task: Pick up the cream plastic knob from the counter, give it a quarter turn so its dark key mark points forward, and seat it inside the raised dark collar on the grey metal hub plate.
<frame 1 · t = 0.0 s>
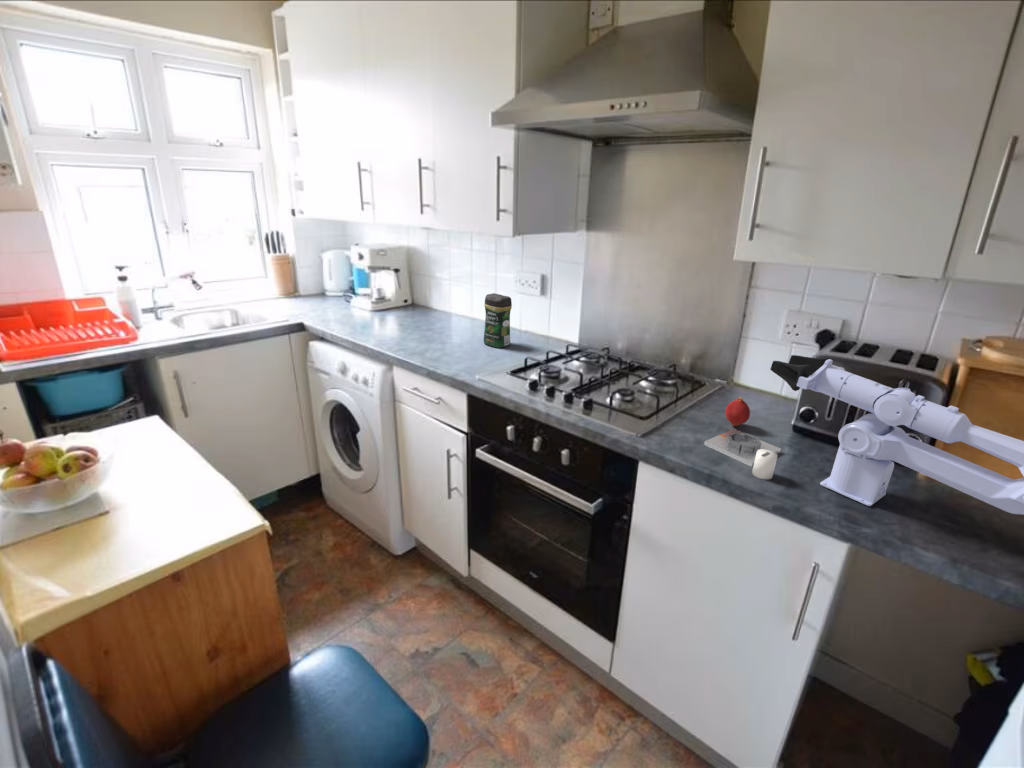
hand: (781, 362, 113), 22 cm above the worktop, tool horizontal, fingers open, 7 cm apart
hub plate: (741, 448, 122), on the worktop
coffee jar: (496, 345, 191), on the worktop
onion: (734, 426, 133), on the worktop
knob: (762, 474, 111), on the worktop
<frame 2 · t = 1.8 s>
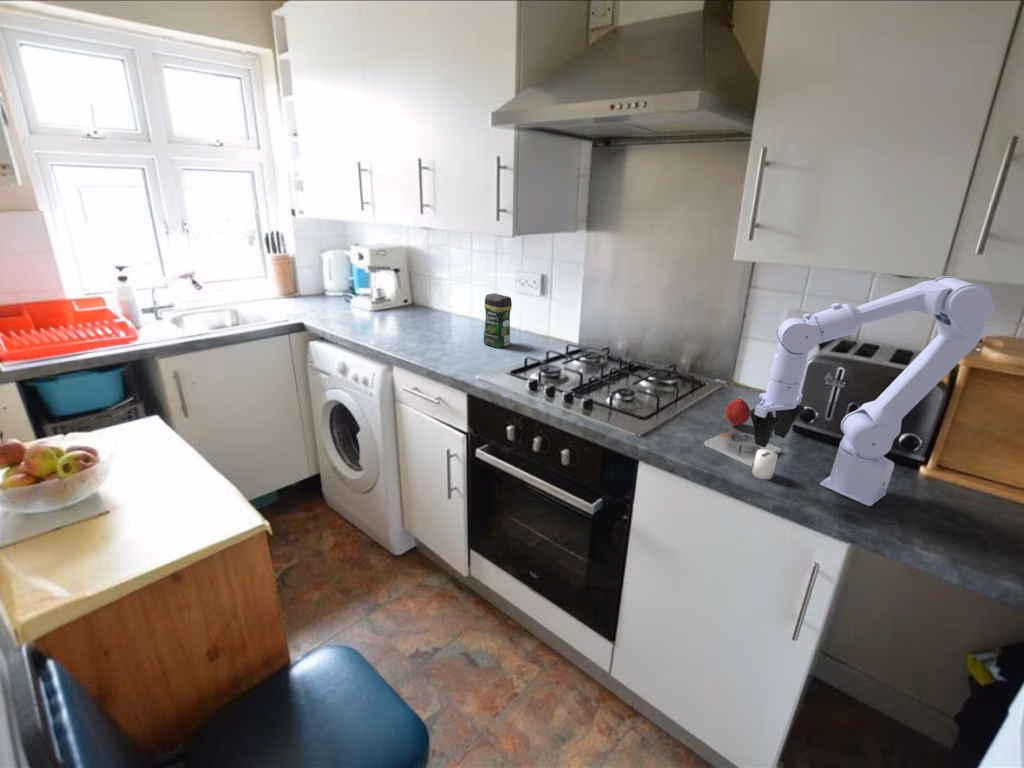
hand: (770, 440, 108), 8 cm above the worktop, tool pointing down, fingers open, 7 cm apart
nothing on the worktop moved.
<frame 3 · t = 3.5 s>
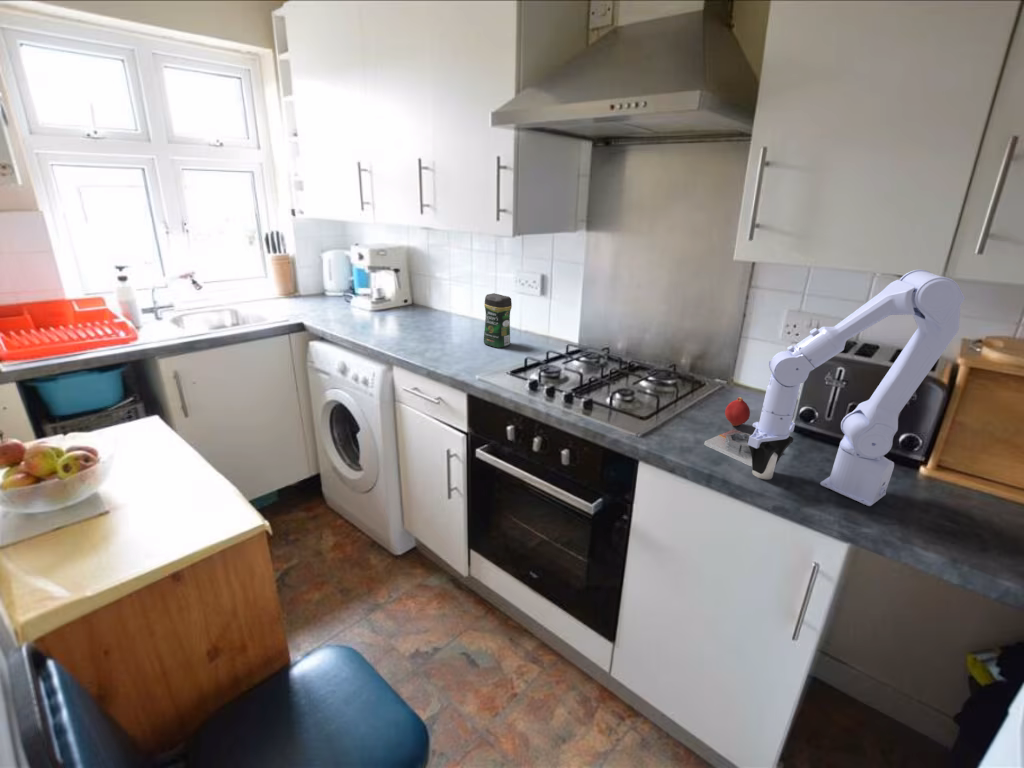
hand: (763, 468, 111), 1 cm above the worktop, tool pointing down, fingers closed on knob, 4 cm apart
knob: (762, 474, 111), on the worktop, touching gripper
everything else where it was.
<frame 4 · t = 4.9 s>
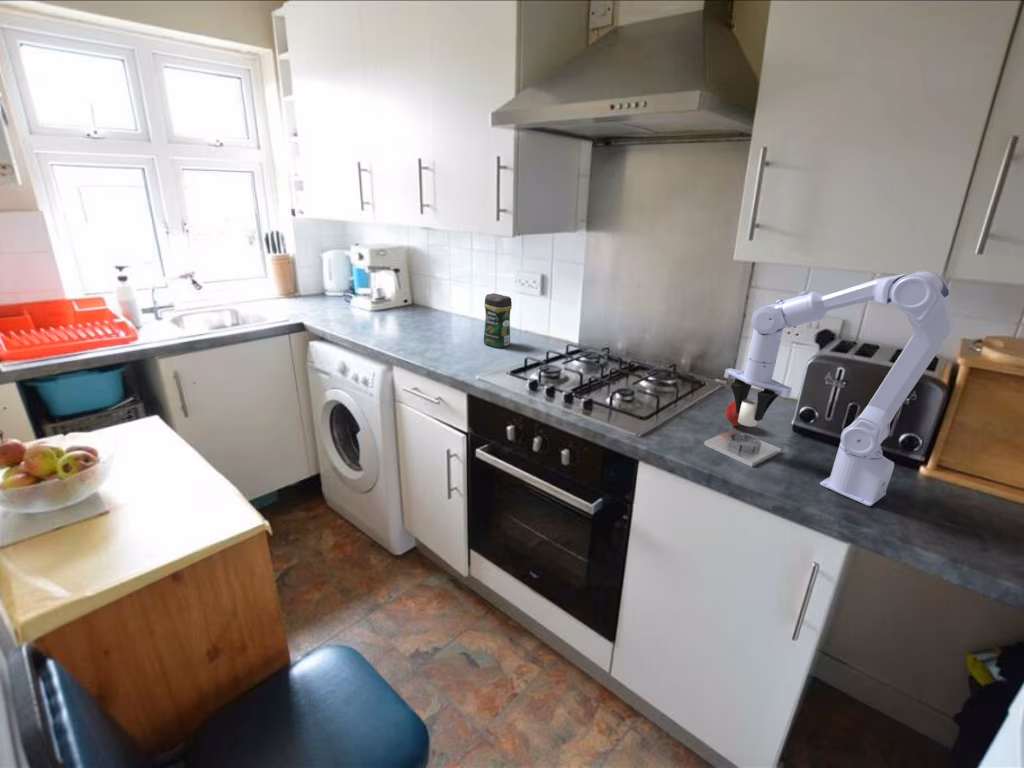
hand: (748, 416, 119), 8 cm above the worktop, tool pointing down, fingers closed on knob, 4 cm apart
knob: (747, 422, 119), point 7 cm above the worktop, touching gripper
everything else where it was.
when the fingers open (3 cm above the worktop, at t = 6.6 s): knob stays where it is, resting on hub plate.
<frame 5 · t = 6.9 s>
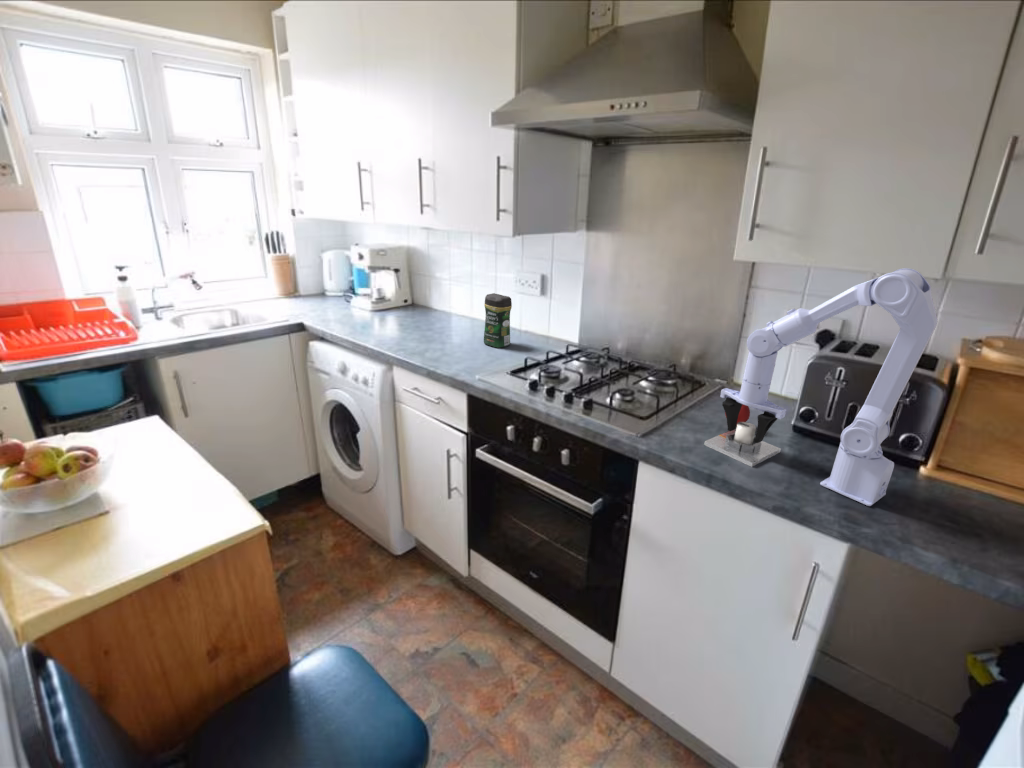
hand: (744, 435, 120), 3 cm above the worktop, tool pointing down, fingers open, 6 cm apart
knob: (742, 445, 121), point 1 cm above the worktop, touching hub plate
everything else where it was.
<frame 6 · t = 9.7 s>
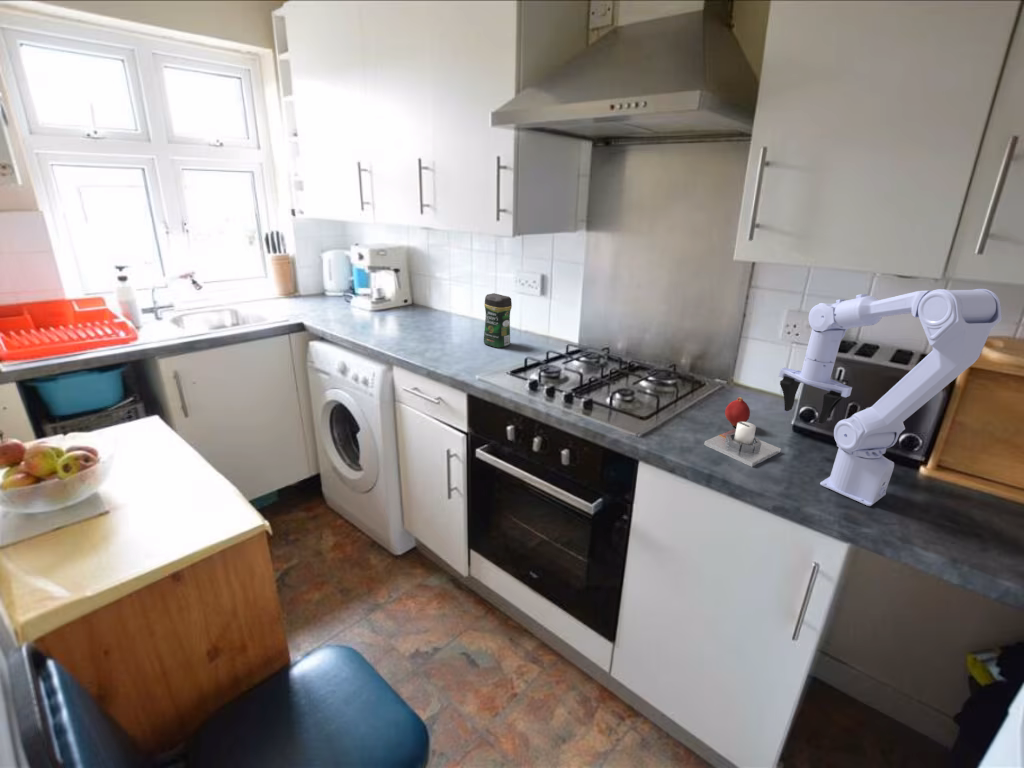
hand: (804, 415, 117), 9 cm above the worktop, tool pointing down, fingers open, 7 cm apart
nothing on the worktop moved.
at the end: knob 0.2 cm off-centre on the hub plate, point 1.1 cm above the hub plate's base; knob tilted 3°; the gripper is holding nothing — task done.
